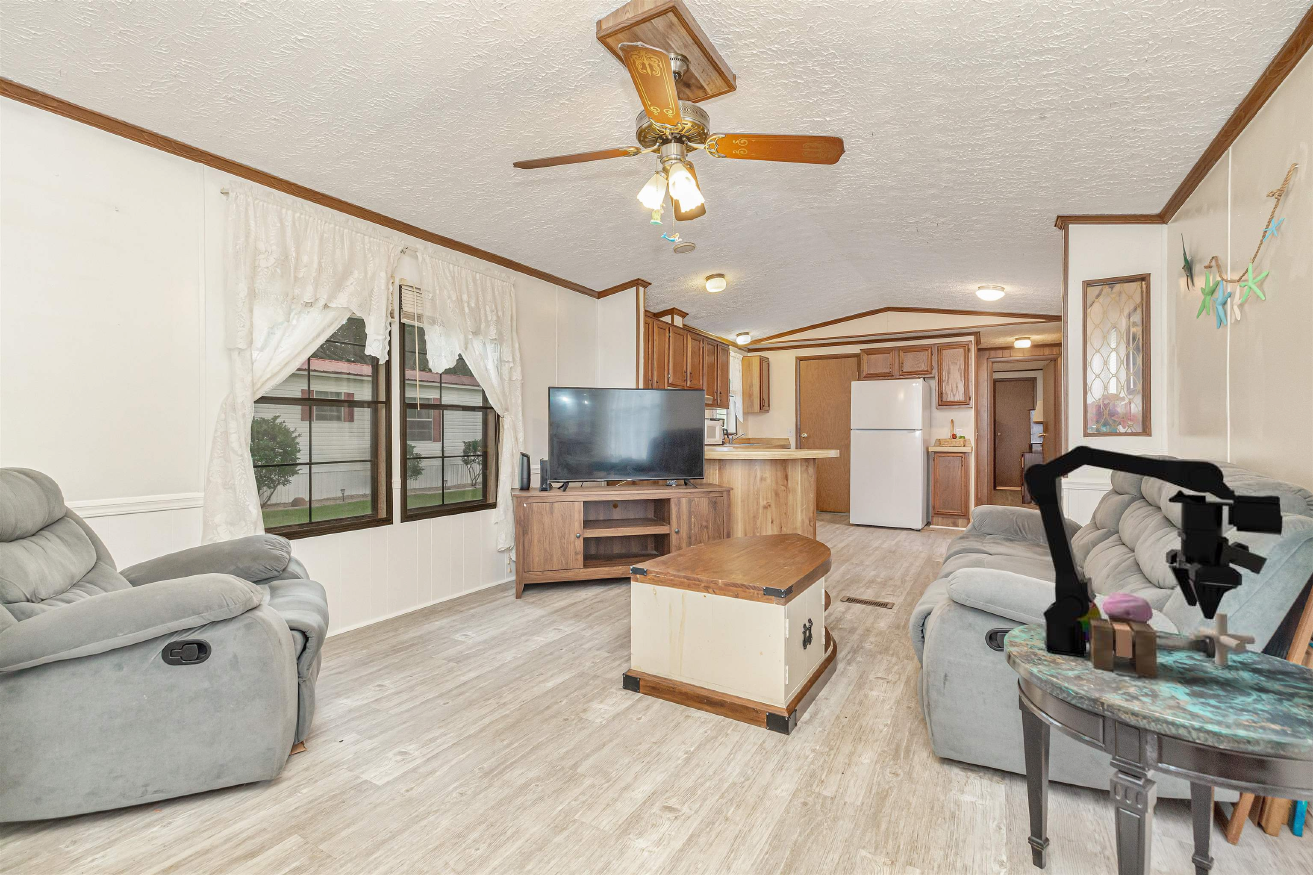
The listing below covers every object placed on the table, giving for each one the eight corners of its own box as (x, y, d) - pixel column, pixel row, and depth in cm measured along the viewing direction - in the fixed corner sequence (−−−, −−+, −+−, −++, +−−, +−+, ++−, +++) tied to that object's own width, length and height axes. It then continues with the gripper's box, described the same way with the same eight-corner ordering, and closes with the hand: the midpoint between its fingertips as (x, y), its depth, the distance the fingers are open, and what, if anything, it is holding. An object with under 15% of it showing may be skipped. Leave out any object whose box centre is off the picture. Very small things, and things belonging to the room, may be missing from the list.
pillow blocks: (1093, 668, 115) (1093, 625, 115) (1089, 658, 120) (1088, 617, 120) (1157, 677, 110) (1156, 632, 110) (1149, 666, 115) (1148, 623, 115)
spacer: (1116, 656, 113) (1115, 628, 113) (1111, 647, 118) (1111, 621, 118) (1132, 658, 112) (1131, 630, 112) (1126, 649, 117) (1126, 623, 117)
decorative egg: (1049, 632, 137) (1048, 588, 137) (1081, 630, 138) (1080, 587, 138) (1078, 643, 128) (1077, 597, 129) (1112, 642, 129) (1111, 596, 130)
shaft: (1099, 646, 115) (1098, 625, 115) (1096, 640, 119) (1095, 620, 119) (1215, 661, 107) (1215, 639, 107) (1208, 654, 110) (1208, 633, 110)
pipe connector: (1272, 675, 110) (1271, 621, 110) (1210, 672, 112) (1209, 619, 112) (1232, 656, 120) (1231, 607, 120) (1175, 653, 122) (1174, 604, 122)
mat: (1115, 674, 111) (1115, 673, 111) (1106, 657, 120) (1106, 656, 120) (1138, 677, 110) (1138, 676, 110) (1127, 660, 119) (1127, 658, 119)
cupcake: (1100, 630, 137) (1099, 587, 137) (1148, 636, 133) (1147, 591, 133) (1106, 641, 129) (1105, 596, 130) (1157, 648, 125) (1156, 600, 125)
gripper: (1284, 540, 98) (1283, 634, 98) (1239, 525, 115) (1238, 605, 115) (1196, 534, 103) (1195, 623, 103) (1165, 520, 120) (1164, 597, 120)
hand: (1200, 612), depth 110 cm, fingers open, 9 cm apart
